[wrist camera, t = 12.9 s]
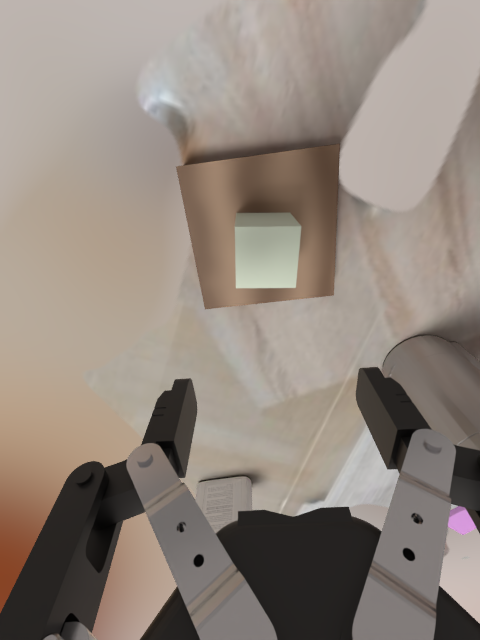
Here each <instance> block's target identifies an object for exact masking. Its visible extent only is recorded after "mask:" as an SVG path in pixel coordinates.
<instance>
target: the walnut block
mask: <svg viewBox="0 0 480 640" xmlns="http://www.w3.org/2000/svg"><path fill="white" fill-rule="evenodd" d="M339 152H340V144H334V145H327V146H319V147H312V148H305V149H298V150H291V151H284V152H277V153H269V154H262V155H255V156H248V157H241V158H234V159H227V160H220V161H212V162H205V163H198V164H191V165H184V166H178V167H176V168H177V173H178V178H179V183H180V188H181V193H182V198H183V202H184V208H185V213H186V218H187V222H188V227H189V232H190V237H191V242H192V247H193V252H194V257H195V262H196V267H197V272H198V276H199V281H200V286H201V291H202V296H203V301H204V306H205V309H211V308H221V307H230V306H239V305H248V304H258V303H267V302H276V301H286V300H295V299H304V298H313V297H323V296H332V295H334V276H335V251H336V226H337V201H338V176H339ZM236 213H291V214H292V216H293V217H294V218H295V219H296V220H297V222H298V223H299V224H300V225H301V236H300V247H299V258H298V269H297V280H296V288H236V267H235V220H236Z"/></svg>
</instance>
